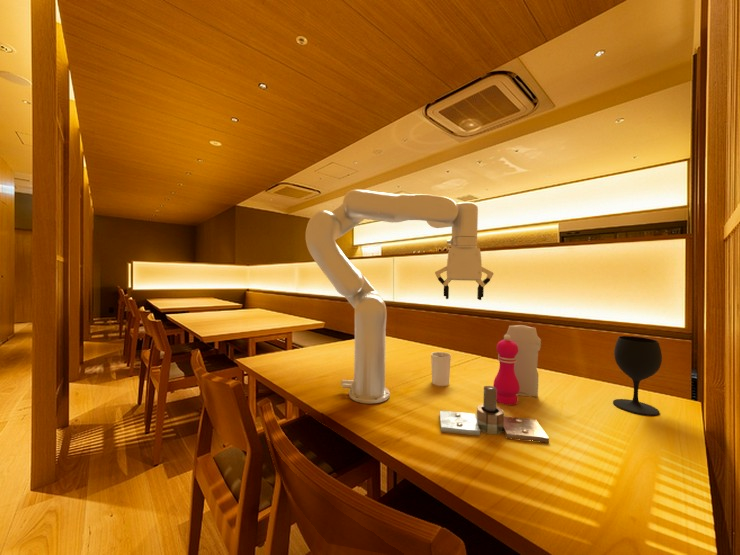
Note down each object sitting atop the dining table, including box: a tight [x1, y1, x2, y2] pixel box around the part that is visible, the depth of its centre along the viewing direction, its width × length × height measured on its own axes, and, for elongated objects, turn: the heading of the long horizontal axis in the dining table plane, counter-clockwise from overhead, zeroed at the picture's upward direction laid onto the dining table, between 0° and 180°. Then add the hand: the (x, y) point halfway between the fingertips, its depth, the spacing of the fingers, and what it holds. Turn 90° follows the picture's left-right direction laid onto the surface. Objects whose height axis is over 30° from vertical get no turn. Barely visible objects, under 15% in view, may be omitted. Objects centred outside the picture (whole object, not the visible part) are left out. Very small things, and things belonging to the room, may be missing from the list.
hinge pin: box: [482, 385, 497, 413], centre depth 78 cm, size 3×3×10 cm
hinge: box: [439, 403, 550, 444], centre depth 78 cm, size 24×9×5 cm, turn 79°
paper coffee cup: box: [430, 351, 452, 387], centre depth 108 cm, size 7×7×10 cm
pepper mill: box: [493, 334, 520, 406], centre depth 94 cm, size 7×7×20 cm
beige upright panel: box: [503, 324, 542, 398], centre depth 99 cm, size 11×4×22 cm, turn 62°
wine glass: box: [612, 335, 663, 417], centre depth 90 cm, size 10×10×20 cm
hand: (463, 299), depth 96 cm, fingers open, 9 cm apart
